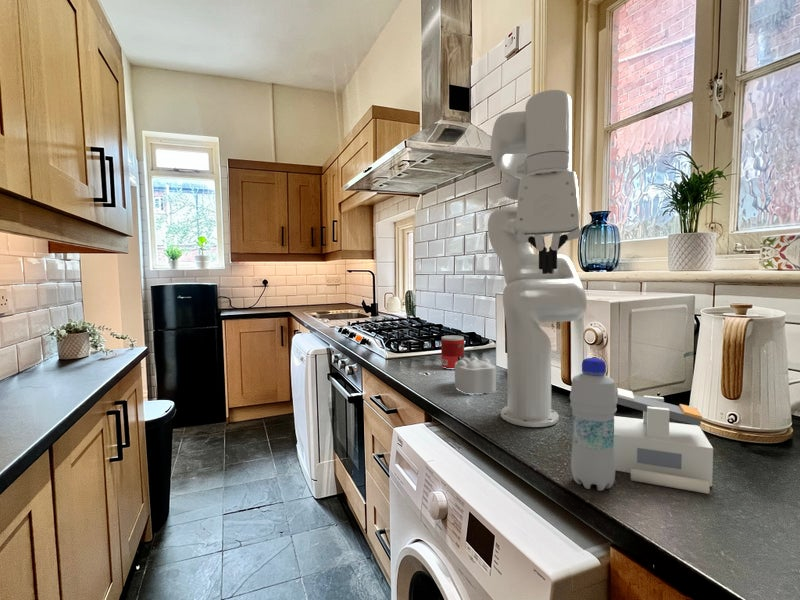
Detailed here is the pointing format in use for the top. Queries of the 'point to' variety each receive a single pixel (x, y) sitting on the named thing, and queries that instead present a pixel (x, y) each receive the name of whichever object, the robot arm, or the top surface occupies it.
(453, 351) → the canned food
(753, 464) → the top surface
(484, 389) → the lumpy-topped squat cylinder
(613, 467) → the bottle
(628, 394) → the lever
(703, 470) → the box
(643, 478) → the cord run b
